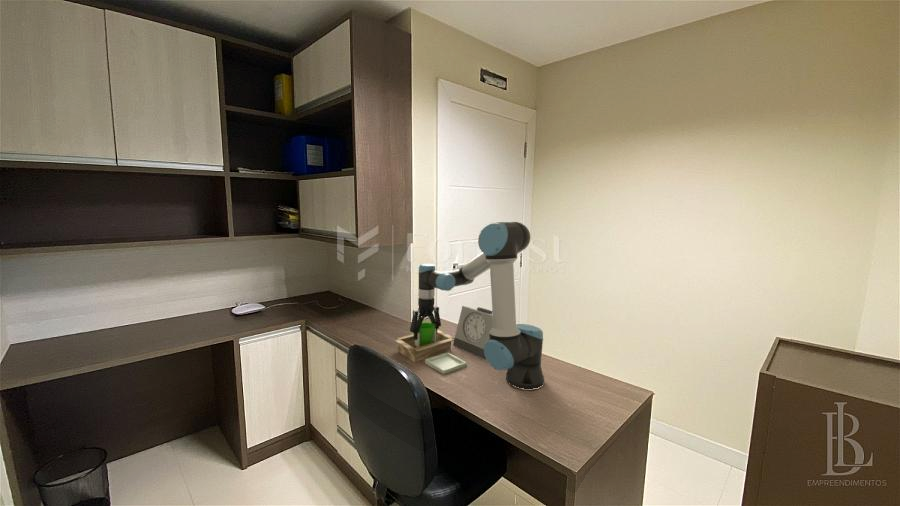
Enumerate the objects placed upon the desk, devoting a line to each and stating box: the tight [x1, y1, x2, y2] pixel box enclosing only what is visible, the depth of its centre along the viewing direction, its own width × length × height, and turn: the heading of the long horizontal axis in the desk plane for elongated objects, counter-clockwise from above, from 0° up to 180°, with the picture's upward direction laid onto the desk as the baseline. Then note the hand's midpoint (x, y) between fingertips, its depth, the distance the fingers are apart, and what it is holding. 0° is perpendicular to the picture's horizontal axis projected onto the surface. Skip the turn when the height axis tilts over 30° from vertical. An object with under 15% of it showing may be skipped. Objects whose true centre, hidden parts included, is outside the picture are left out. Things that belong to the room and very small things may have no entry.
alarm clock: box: [452, 305, 493, 360], centre depth 178 cm, size 20×16×20 cm
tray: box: [424, 351, 468, 376], centre depth 160 cm, size 13×13×2 cm
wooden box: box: [394, 329, 455, 363], centre depth 173 cm, size 17×25×6 cm
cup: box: [418, 321, 435, 347], centre depth 172 cm, size 9×9×11 cm
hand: (425, 343), depth 173 cm, fingers closed on cup, 9 cm apart
